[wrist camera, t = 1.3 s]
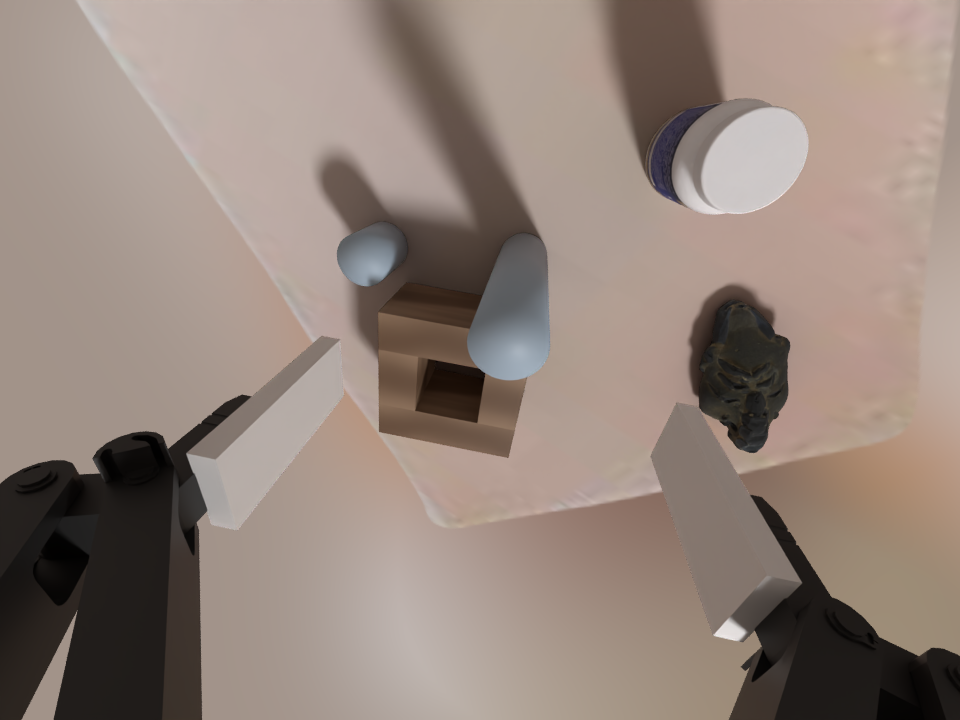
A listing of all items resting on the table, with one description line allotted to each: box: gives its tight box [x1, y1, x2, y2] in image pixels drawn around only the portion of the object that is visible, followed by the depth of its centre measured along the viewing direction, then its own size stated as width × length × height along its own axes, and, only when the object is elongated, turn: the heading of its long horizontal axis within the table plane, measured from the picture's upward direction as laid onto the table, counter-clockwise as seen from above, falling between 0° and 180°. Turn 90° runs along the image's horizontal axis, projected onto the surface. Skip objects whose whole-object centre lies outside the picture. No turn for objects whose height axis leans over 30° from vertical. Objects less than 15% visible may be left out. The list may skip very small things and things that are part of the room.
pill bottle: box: [645, 98, 808, 214], centre depth 23 cm, size 6×6×10 cm
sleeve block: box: [378, 283, 527, 458], centre depth 34 cm, size 12×12×7 cm
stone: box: [699, 300, 790, 453], centre depth 32 cm, size 7×13×5 cm, turn 17°
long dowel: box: [467, 233, 550, 380], centre depth 25 cm, size 4×4×16 cm
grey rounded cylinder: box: [337, 222, 408, 286], centre depth 31 cm, size 4×4×5 cm
